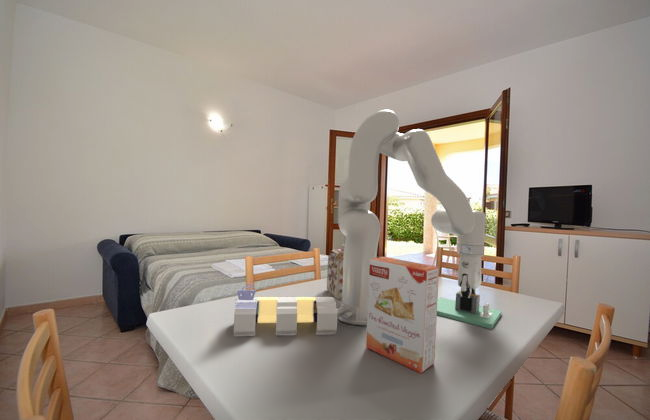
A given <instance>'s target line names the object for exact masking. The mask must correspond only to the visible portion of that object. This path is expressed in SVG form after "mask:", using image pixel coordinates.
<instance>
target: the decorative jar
mask: <svg viewBox="0 0 650 420" xmlns="http://www.w3.org/2000/svg"><path fill="white" fill-rule="evenodd" d="M344 248H345V243H344V244H341V247H340V248H334V249H332V250H331V251H330V253H329V254H328V256H327V257H328V258H327V271H326V273H327V275H326V290H327V291H328V292H329V293H330V294H331V295H332V296H333V297H334V298H336V299H337V300H340V299H341V300H342V288H343V260H344Z"/></svg>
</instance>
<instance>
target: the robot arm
mask: <svg viewBox="0 0 650 420" xmlns="http://www.w3.org/2000/svg"><path fill="white" fill-rule="evenodd" d="M399 128H400V119H399V116H398V115H397V113H396V112H394V111H393V110H390V109H382V110H379V111H377V112H375V113H373V114H371V115H369V116H368V117H367V118H366V119H365V120H364V121H363V122H362V123H361V124H360V125H359V126H358V129H357V130H356V131H355V133H354V135H353V138H352V140H351V143H350V148H349V155H348V157H349V158H348V167H347V168H348V169H347V171H348V172H347V175H346V177H344V178H343V180H342V181H341V183H340V185H339V189H338V205H337V206H338V211H337V212H338V213H337V214H338V215H337V217H338V218H337V220H338V221H337V222H338V227H339V230H340V232H341V234H342V235H344V236H345V242H344V244H345V248H344V260H343V288H342V299H341V303H340V307H339V308H337V320H339V321H341V322H343V323H346V324H350V325H356V326H367V315H368V292H369V270H370V259H372V258H378V256H377V255H378V248H379V247H378V246H379V242H380V235H381V223H380V220H379V218H378V216H377V214H375V213H374V212H373V211H372V210H369V209H368V204H369V203H371V202H373V201H374V200H375V199H376V197H377V196H378V191H379V190H378V187H379V185H378V184H379V183H378V182H379V181H378V180H379V179H378V178H379V159H380V154H381V155H384V156H386V157H389V158H391V159H393V160H397V161H400V162H407V164H408V166H409V168H410V170H411V173H412V175H413V177H414V180H415V182H416V184H417V186H418V187H420V188H421V189H422V190H423V191H425V192H427V193H429V194H430V195H432V197H434V198H436V200H437V201H438V202H439V203H440V204H441V206H442V207H443V208H442V209H438V210H437V211H435V212H434V213H433V214H432V216H431V219H430V220H431V225H432V227H433V228H434V229H435V230H436V231H437V232H441V233H443V234H444V233H445V234H451V235H456V236H457V246H456V253H457V255H459V261H458V271H457V272H458V274H457V285H458V286H459V287H460V291H461V295H460V309H461V310H465V311H471V309H472V298H471V293H472V294H477V293H476V290H477V288H479V287H480V286H481V285H482V258H483V257H484V255H485V236H486V221H487V220H486V219H487V218H486V213H485V212H484V211H481V210H473V208H472V207H471V206H472V205H471V203H470V201H469V199H468V198H467V195H466V194H465V192H464V191H462V189H461V188H460V187H459V186H458V185H457V184H456V182H454V180H452V178H450V176H449V175H447V173H446V172H445V169H444V167H443V165H442V162H441V161H440V160H441V159H440V158H439V155H438V154H437V153H438V152H437V151H436V148H435V146H434V143H433V142H432V140H431V137H430V135H429V133H428V132H427V131H426V130H424V129H420V128H417V129H411V130H409V131H407V132H405V133H400V132H398V131H399Z"/></svg>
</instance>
